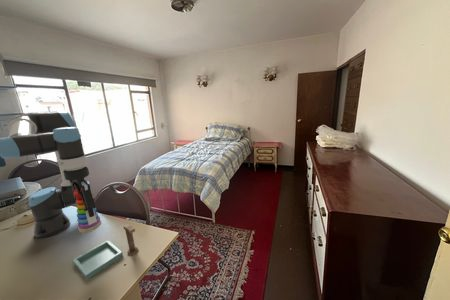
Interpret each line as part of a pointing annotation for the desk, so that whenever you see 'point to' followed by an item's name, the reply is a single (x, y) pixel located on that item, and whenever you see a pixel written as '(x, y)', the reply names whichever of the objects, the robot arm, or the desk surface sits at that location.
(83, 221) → the stacking toy
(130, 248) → the tan tall figure
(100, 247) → the tray
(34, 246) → the desk surface
